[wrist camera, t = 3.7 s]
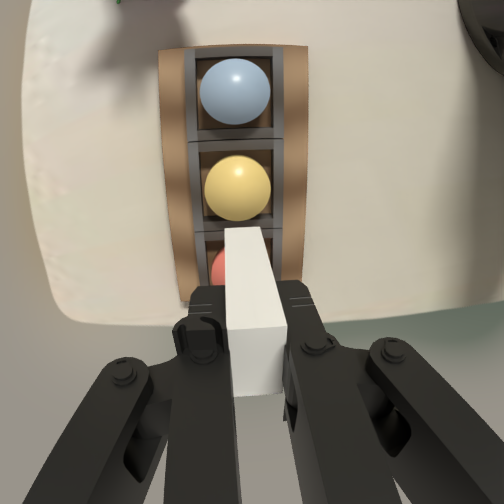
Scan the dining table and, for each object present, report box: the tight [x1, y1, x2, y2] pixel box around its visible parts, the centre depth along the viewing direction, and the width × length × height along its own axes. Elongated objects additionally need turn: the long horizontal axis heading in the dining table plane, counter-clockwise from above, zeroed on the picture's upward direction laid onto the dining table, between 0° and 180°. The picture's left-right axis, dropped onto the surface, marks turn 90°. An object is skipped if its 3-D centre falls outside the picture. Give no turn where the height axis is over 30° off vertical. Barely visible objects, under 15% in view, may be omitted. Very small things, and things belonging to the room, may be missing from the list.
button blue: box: [200, 59, 270, 125], centre depth 21 cm, size 5×5×2 cm
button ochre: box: [205, 155, 271, 221], centre depth 24 cm, size 5×5×2 cm
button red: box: [211, 247, 225, 285], centre depth 28 cm, size 5×5×2 cm
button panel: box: [158, 44, 308, 301], centre depth 26 cm, size 23×12×4 cm, turn 1°
